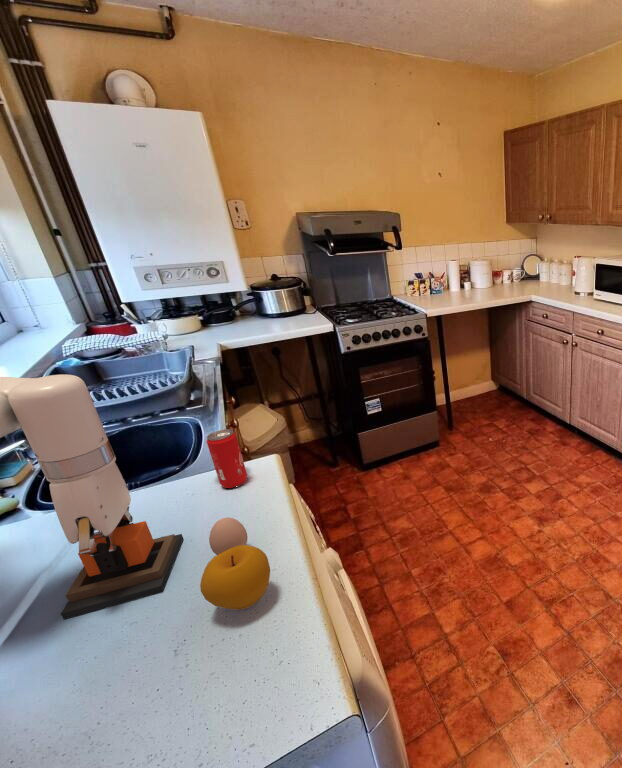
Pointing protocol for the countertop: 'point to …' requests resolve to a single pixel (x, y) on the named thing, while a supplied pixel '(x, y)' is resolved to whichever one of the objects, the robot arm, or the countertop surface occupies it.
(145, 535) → the orange block
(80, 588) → the brown wooden tray
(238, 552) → the apple
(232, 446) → the beverage can
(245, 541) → the egg
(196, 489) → the countertop surface
